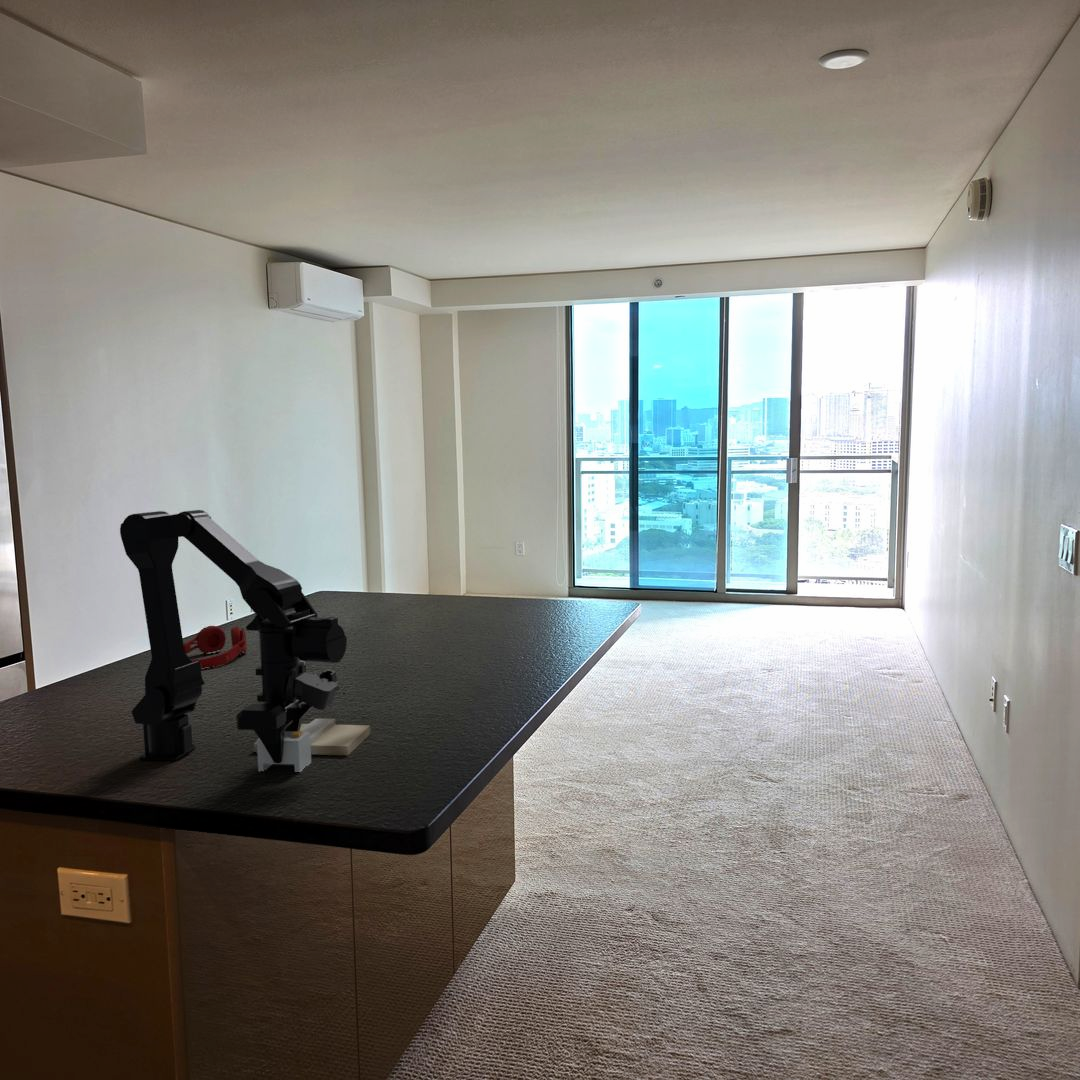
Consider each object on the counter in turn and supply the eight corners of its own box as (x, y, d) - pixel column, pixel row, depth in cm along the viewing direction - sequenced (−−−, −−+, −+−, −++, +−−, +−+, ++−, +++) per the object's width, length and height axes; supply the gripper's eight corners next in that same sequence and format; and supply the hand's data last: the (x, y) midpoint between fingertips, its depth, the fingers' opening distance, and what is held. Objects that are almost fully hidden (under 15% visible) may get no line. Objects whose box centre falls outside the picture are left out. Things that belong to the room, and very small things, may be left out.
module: (258, 771, 139) (256, 735, 139) (271, 761, 144) (269, 727, 143) (299, 772, 138) (298, 737, 138) (311, 762, 143) (309, 728, 142)
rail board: (254, 752, 148) (253, 737, 148) (282, 731, 159) (281, 717, 159) (347, 755, 146) (347, 740, 145) (370, 733, 156) (369, 719, 156)
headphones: (208, 648, 227) (158, 679, 208) (204, 621, 225) (153, 650, 206) (261, 650, 224) (215, 681, 205) (257, 622, 222) (211, 652, 203)
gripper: (305, 675, 129) (310, 781, 130) (351, 646, 147) (355, 739, 149) (231, 673, 130) (237, 778, 132) (286, 645, 149) (290, 737, 150)
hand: (284, 757), depth 141 cm, fingers closed on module, 4 cm apart
